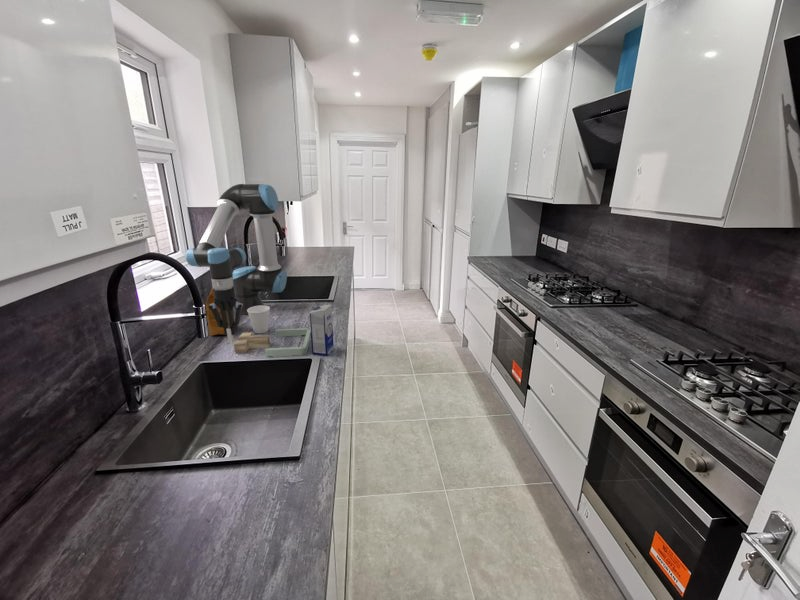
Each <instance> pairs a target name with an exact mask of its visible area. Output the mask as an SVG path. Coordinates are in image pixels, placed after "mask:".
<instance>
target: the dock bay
mask: <svg viewBox="0 0 800 600" xmlns="http://www.w3.org/2000/svg"><path fill="white" fill-rule="evenodd" d="M274 332H275V337H276V338H277V337H303V336H302V335H306V336H304V340H303V344H302V346H296V347H295V346H294V347H291V346H290V347H273V348H272V347H271V348H270V347H268V348H265V357H266V356H278V357H289V356H288V355H300V356H307V354H308V350H309V346H310V343H311V333H310V327H305V328H303V327H301V328H278V329H275V331H274Z"/></svg>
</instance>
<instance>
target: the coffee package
mask: <svg viewBox="0 0 800 600" xmlns="http://www.w3.org/2000/svg"><path fill="white" fill-rule="evenodd" d="M213 290H214V288H213V287H211V290H210V293H209V294H208V296H207V298H206V301H205V312H206V311H207V315H206V320H207V324H208V331H209V336H212V337H213V336H217V335H225V332H224V328H223V327H219V326H218V324H217V322H216V320H215V317H214V315H213V313H212V311H211V310H210V309H209V307H208V306H209V305H211V304H213V303H214V300H215V298H214V293H213ZM216 308H217V310H218V312H219V314H220V317H221V319H222V316H221V312H220V309H219V308H218V307H217V306H216ZM226 313H227V310H226ZM227 319H228V324H229V317H228V313H227ZM228 326H230V324H229V325H228Z"/></svg>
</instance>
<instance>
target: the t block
mask: <svg viewBox="0 0 800 600" xmlns="http://www.w3.org/2000/svg"><path fill="white" fill-rule="evenodd" d="M270 345H271V337H270V334H268V335H267V334H266V335H265V334H263V335H262V334H260V335H253V331H247V332H246V331H243V332H241V333H240V335H239V337H238V338H237V340H236V341H235V343H234V344H233V346H234V352H235V354H246V353H247V352H248V350H249V349H250V348H251V349H267V348H270Z"/></svg>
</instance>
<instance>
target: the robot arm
mask: <svg viewBox="0 0 800 600" xmlns="http://www.w3.org/2000/svg"><path fill="white" fill-rule="evenodd" d="M216 206H217V208H216V210H215V212H214V214H213V216H212V218H211V219H210V221H209V223H208V225H207V227H206V228H205V231H204V232H203V235H202V237H201V239H200V240H199V243H198V244H197V246H196V247H191V248H189V249H187V251H186V253H185V261H186V262H187V264H188V265H190V266H191V267H199V268H202V267H203V268H204V267H205V268H207V267H208V268H209V272H210V278H211V279H210V280H211V287H212V288H214V290H213V293H214V298H215V300H214V303H213V304H211V305H209V306H208V307H209V309H210V310H211V311H212V313H213V315H214V317H215V320H216V322H217V324H218V326H219V327H223V328H224V332H225V334H224V335H225V336H227V341H228V342H227V343H228V344H233V343H234V341H235V335H236V328H237V327H238V326H239V324H240V320H241V315H243V316H244V315H246V316H247V315H248V312H247V309H248V308H250V307H254V306H261V305H262V306H265V304H264V302H263V300H262V298H261V296H260V293H272V294H275V293H283V291H284V289H285V288H286V286H287V282H288V281H287V280H288V274H287V271H286V270H284V269H283V270H282V265H280V264H279V262H278V254H277V247H276V246H277V245H276V237H275V228H274V221H273V220H274V219H273V216H274V215H275V214H276V210H278V207H279V197H278V194H277V192H276V190H275V188H274V187H273V186H272V185H270V184H263V183H254V184H253V183H252V184H251V183H246V184H245V183H238V184H235V185H232V186H230V187H229V188H228V189H226V191H224V192H223V193H222V194H221V195H220V196H219V199H218V200H217V202H216ZM241 210H248V212H249V215H250V216H251V217H252V218H253V223H254V230H255V239H256V244H257V245H256V246H257V251H258V258H259V259H258V260H259V266H258V267H256V266H254V265H251V266H249V265H248V266H243V267H240V266H242V265H243V264H245V262H246V261H247V255H246V252H245V251H244V250H243V249H242V248H240V247H232V248H230V249H229V248H226V247H220V246H221V245H222V242H223V240H224V238H225V235H226V234H227V231H228V230H229V228H230V225H231V223H232V221H233V220H234V217H235V216H236V215H238V214H239V212H240V211H241ZM238 267H239V268H238ZM235 268H236V269H235ZM233 269H234V270H233ZM232 270H233V271H232ZM216 306H217V307H218V308H219V309H220V312H221V316H222V319H221V317H220V314H219V312H218V310H217V308H216ZM226 310H227V313H228V317H229V324H230V326H228V325H229V324H228V319H227V313H226ZM234 314H235V316H234Z"/></svg>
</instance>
